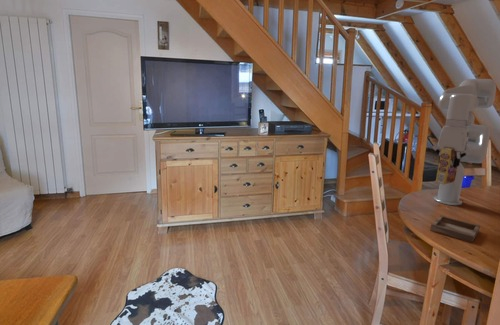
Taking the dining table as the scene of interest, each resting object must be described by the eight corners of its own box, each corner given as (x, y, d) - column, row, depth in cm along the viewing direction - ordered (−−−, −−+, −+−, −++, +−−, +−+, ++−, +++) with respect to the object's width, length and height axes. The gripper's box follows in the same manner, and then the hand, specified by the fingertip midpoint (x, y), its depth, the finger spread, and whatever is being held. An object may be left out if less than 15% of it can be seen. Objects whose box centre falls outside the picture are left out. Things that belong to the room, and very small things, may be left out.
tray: (439, 220, 137) (440, 215, 137) (478, 231, 128) (480, 225, 127) (430, 230, 127) (431, 224, 127) (472, 242, 118) (473, 236, 117)
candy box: (445, 184, 131) (451, 149, 128) (435, 182, 135) (440, 147, 131) (455, 182, 136) (461, 147, 133) (445, 179, 139) (450, 146, 136)
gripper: (482, 125, 126) (473, 168, 130) (435, 121, 138) (429, 161, 142) (478, 126, 121) (469, 171, 125) (430, 122, 133) (424, 163, 137)
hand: (448, 165), depth 134 cm, fingers closed on candy box, 4 cm apart
